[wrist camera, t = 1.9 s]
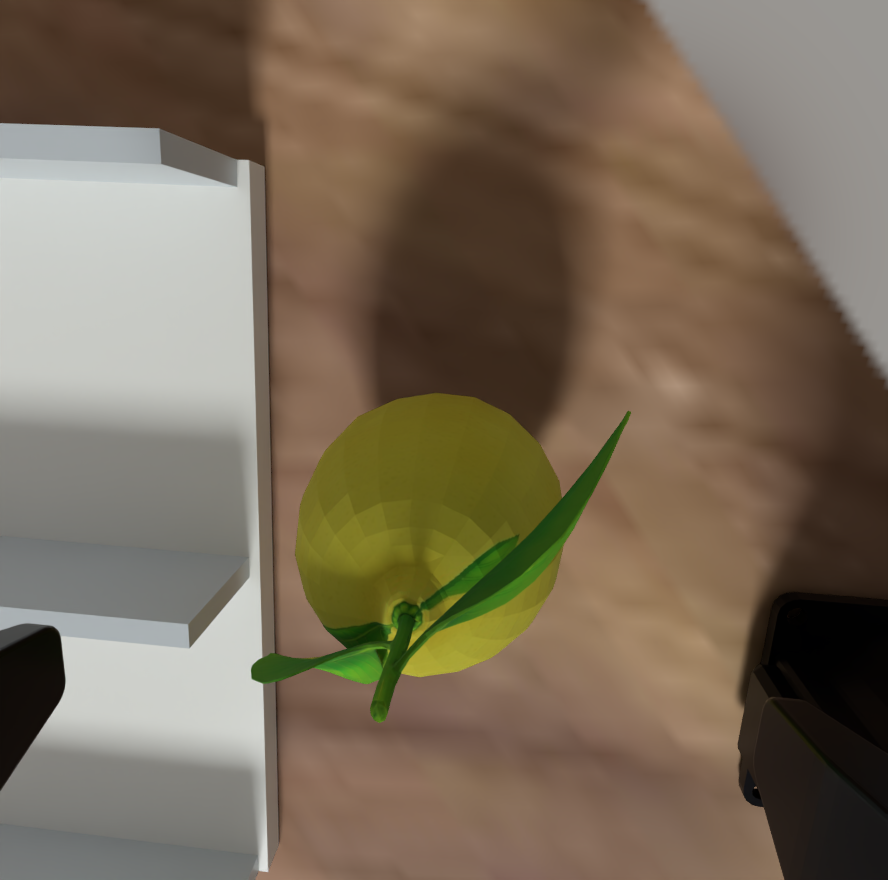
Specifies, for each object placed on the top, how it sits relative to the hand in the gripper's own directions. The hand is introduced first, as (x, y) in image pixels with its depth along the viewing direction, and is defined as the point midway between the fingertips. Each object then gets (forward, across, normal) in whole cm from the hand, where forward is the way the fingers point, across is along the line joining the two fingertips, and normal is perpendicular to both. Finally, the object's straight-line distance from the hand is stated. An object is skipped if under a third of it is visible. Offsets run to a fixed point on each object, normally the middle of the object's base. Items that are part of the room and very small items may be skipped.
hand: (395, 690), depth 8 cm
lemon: (+10, 0, 0) cm, 10 cm away
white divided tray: (+10, +10, +3) cm, 14 cm away
